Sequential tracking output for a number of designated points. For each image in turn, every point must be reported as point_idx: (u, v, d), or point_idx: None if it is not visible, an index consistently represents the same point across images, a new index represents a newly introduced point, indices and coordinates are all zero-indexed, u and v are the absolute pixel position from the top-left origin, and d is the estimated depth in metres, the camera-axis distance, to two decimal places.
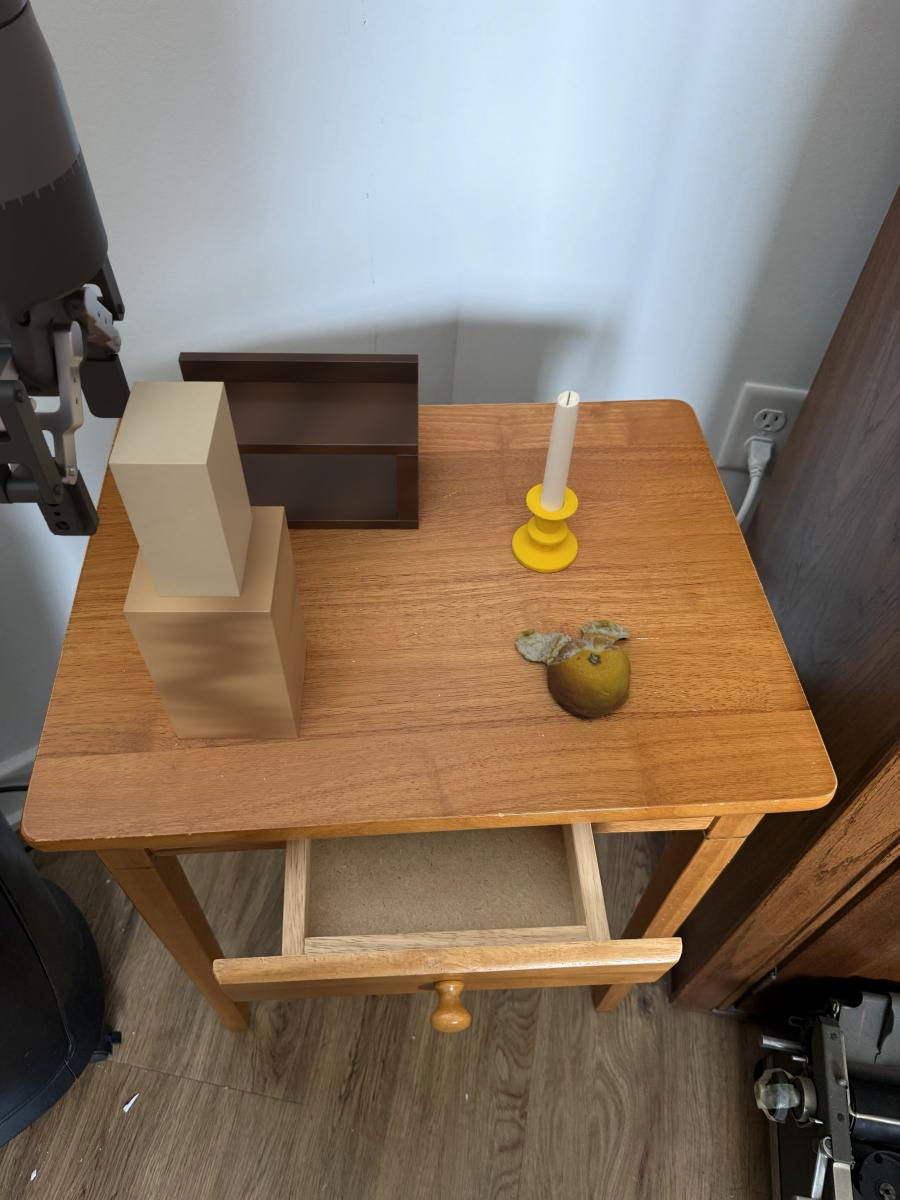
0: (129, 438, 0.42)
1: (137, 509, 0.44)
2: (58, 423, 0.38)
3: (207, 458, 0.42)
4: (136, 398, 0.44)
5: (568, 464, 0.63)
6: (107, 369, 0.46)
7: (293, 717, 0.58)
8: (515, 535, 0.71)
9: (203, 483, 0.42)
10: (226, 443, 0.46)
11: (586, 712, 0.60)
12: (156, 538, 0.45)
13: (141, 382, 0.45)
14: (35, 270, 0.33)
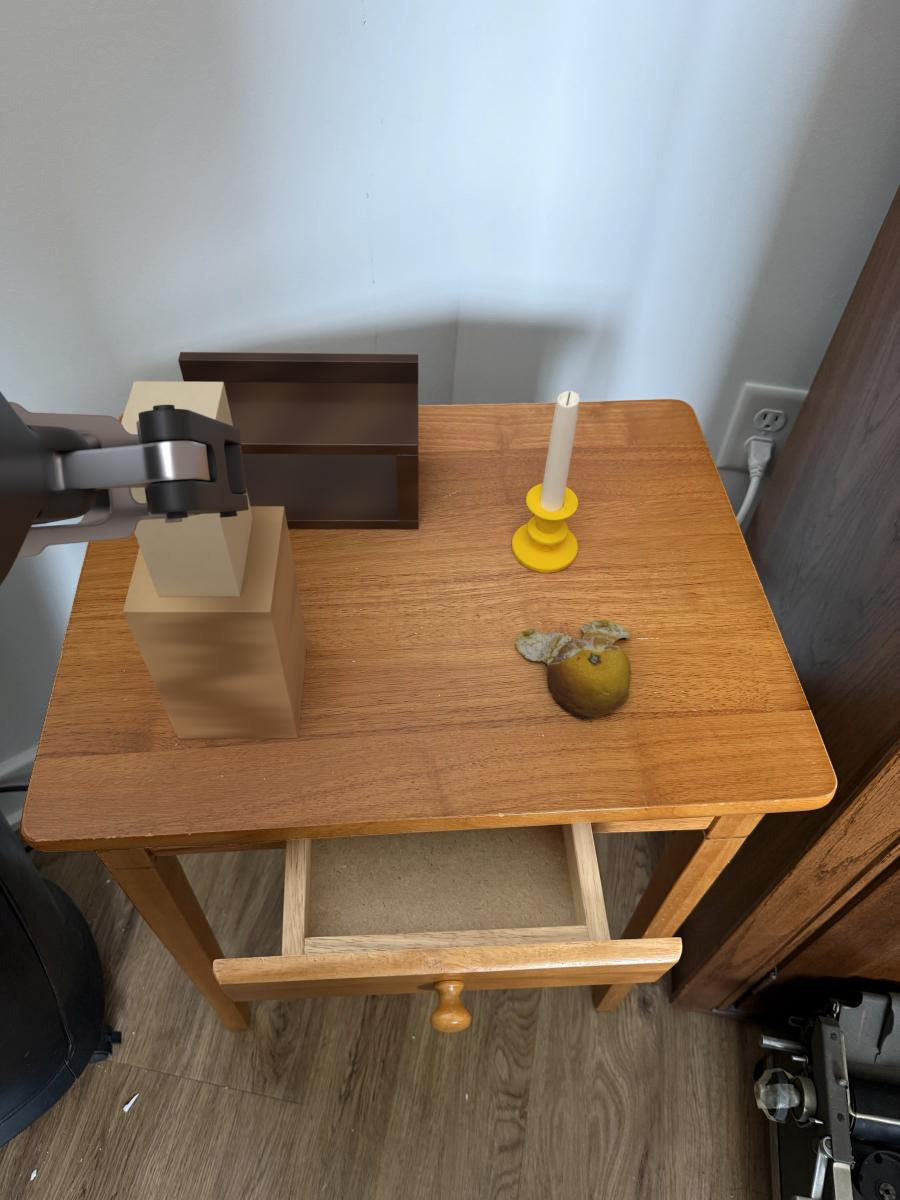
0: None
1: None
2: None
3: None
4: (136, 398, 0.44)
5: (568, 464, 0.63)
6: None
7: (293, 717, 0.58)
8: (515, 535, 0.71)
9: None
10: None
11: (586, 712, 0.60)
12: (156, 538, 0.45)
13: (141, 382, 0.45)
14: None
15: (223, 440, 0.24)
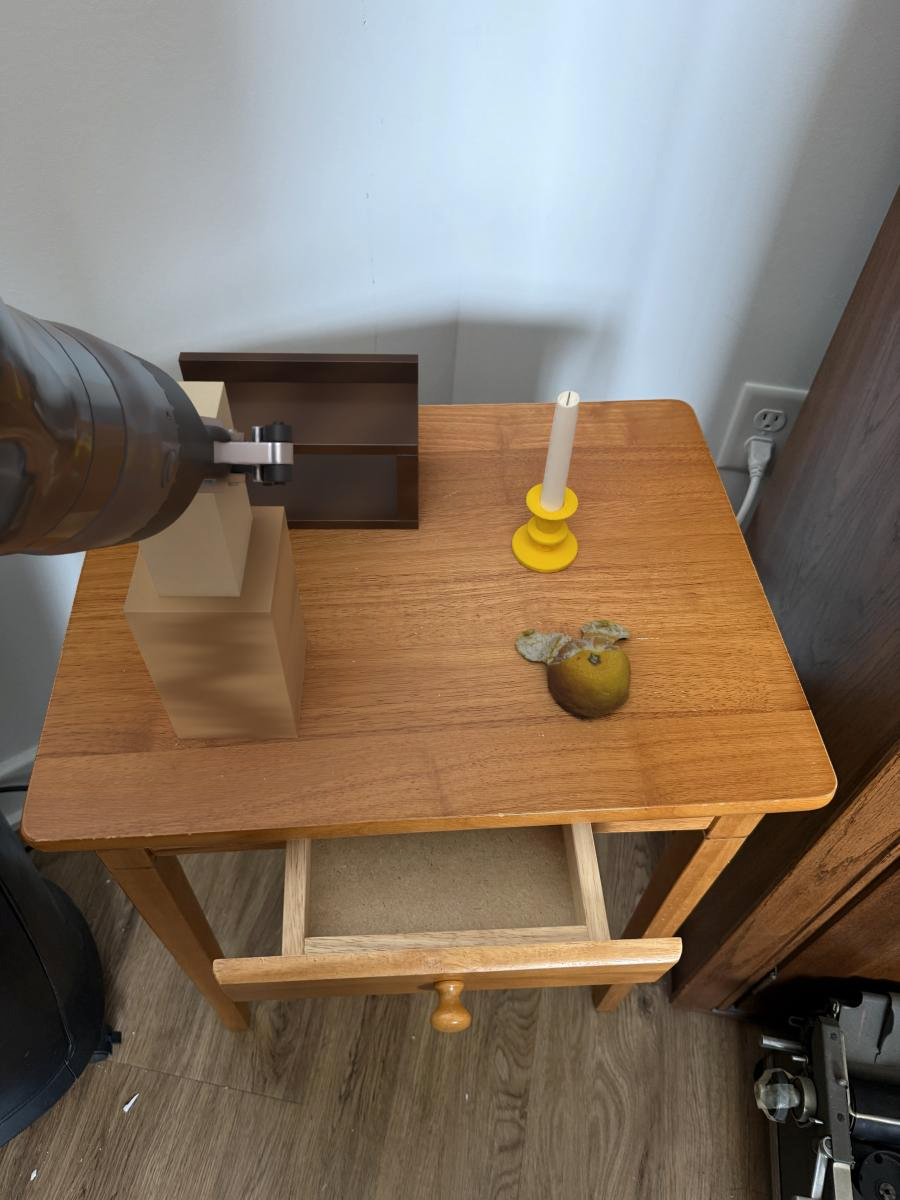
0: None
1: None
2: None
3: None
4: None
5: (568, 464, 0.63)
6: None
7: (293, 717, 0.58)
8: (515, 535, 0.71)
9: None
10: None
11: (586, 712, 0.60)
12: (157, 537, 0.45)
13: None
14: None
15: None
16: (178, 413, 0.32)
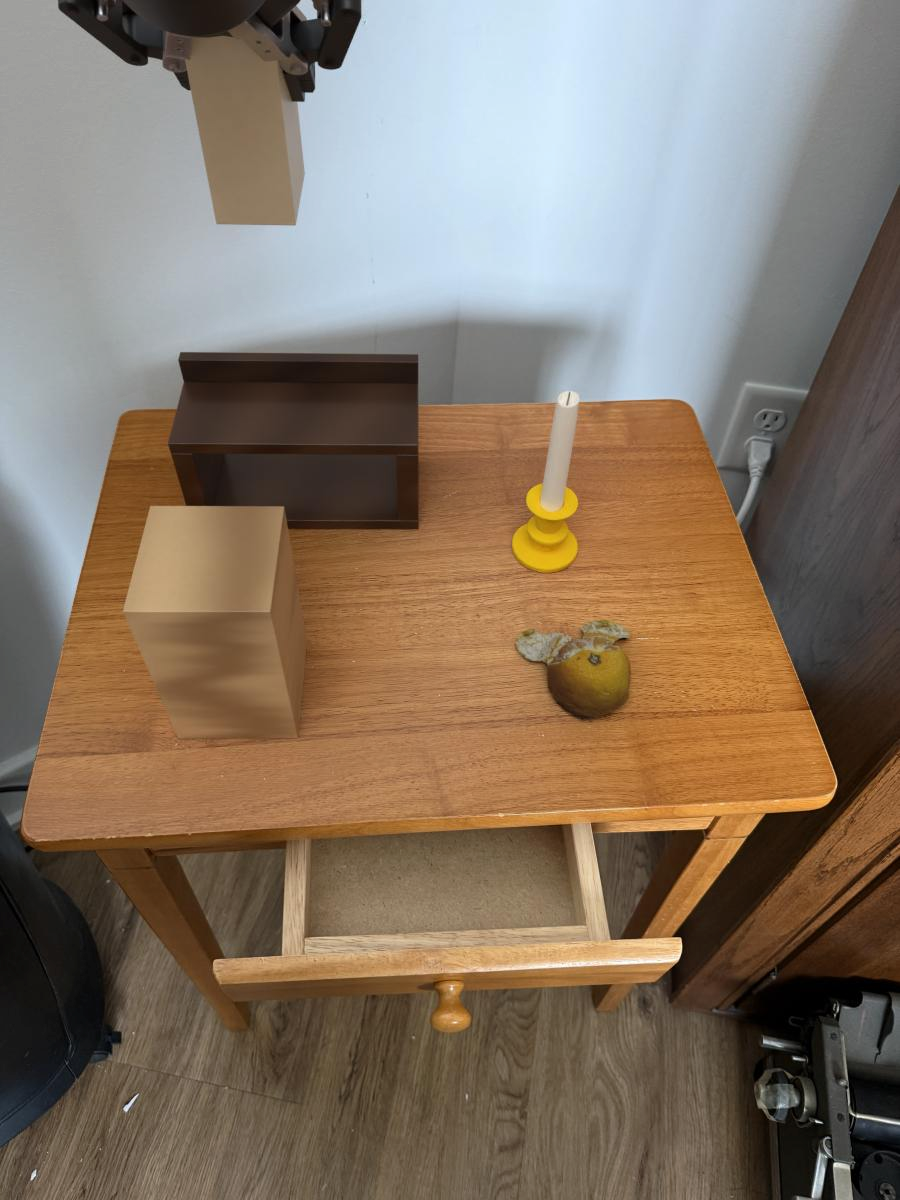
0: None
1: (203, 94, 0.45)
2: (163, 41, 0.43)
3: None
4: None
5: (568, 464, 0.63)
6: None
7: (293, 717, 0.58)
8: (515, 535, 0.71)
9: None
10: None
11: (586, 712, 0.60)
12: (219, 137, 0.47)
13: None
14: None
15: None
16: None
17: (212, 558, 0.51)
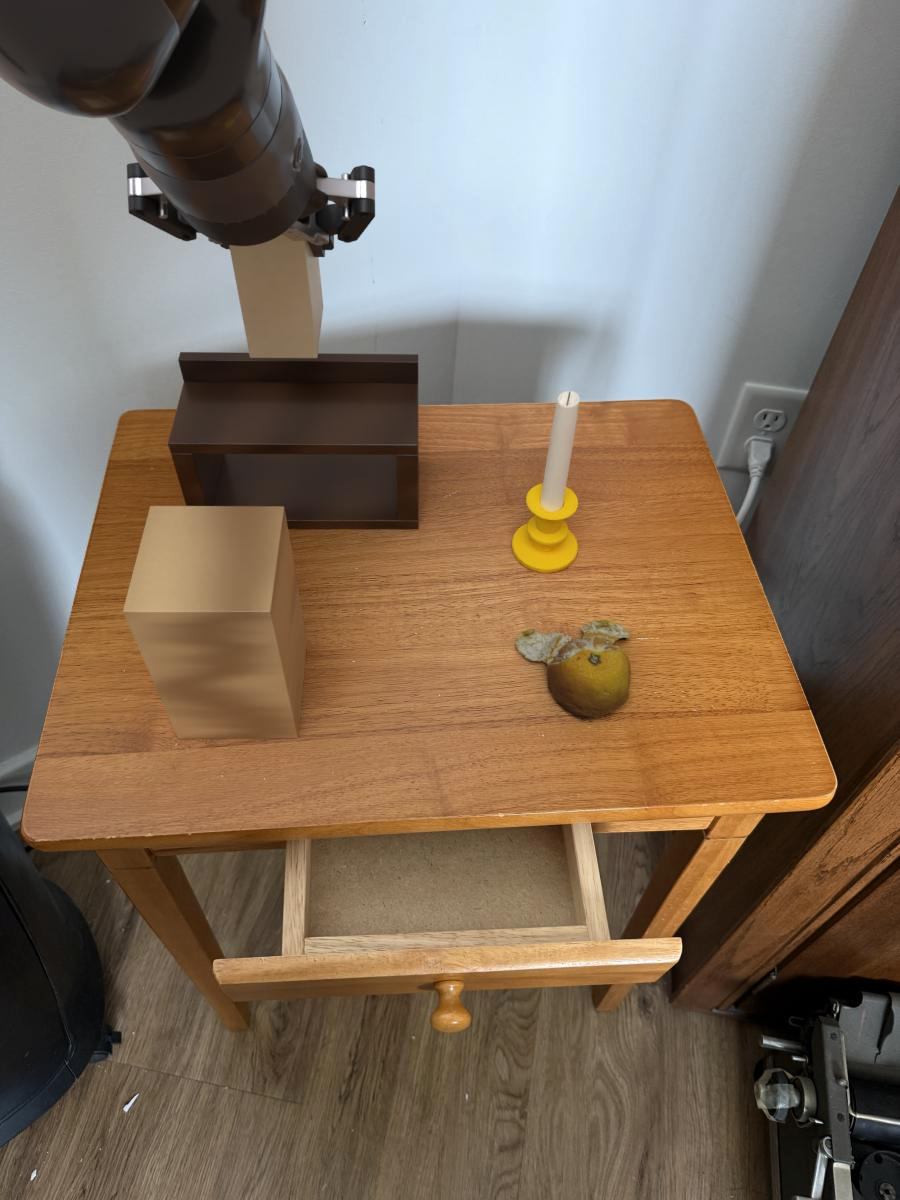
0: None
1: (241, 262, 0.54)
2: None
3: None
4: None
5: (568, 464, 0.63)
6: None
7: (293, 717, 0.58)
8: (515, 535, 0.71)
9: None
10: None
11: (586, 712, 0.60)
12: (254, 293, 0.56)
13: None
14: None
15: None
16: None
17: (212, 558, 0.51)
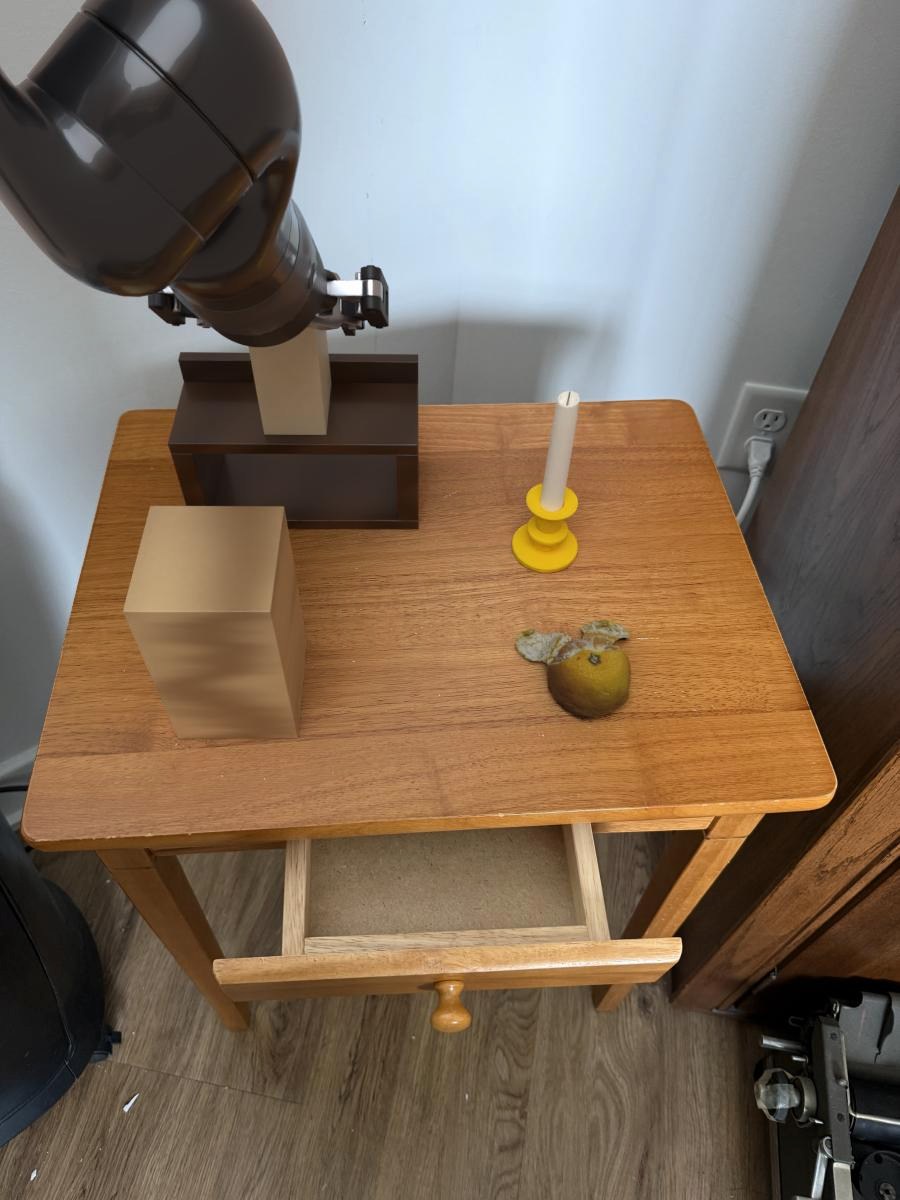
0: None
1: (258, 355, 0.59)
2: None
3: None
4: None
5: (568, 464, 0.63)
6: None
7: (293, 717, 0.58)
8: (515, 535, 0.71)
9: (309, 332, 0.58)
10: None
11: (586, 712, 0.60)
12: (270, 381, 0.61)
13: None
14: None
15: (385, 288, 0.55)
16: (314, 243, 0.47)
17: (212, 558, 0.51)
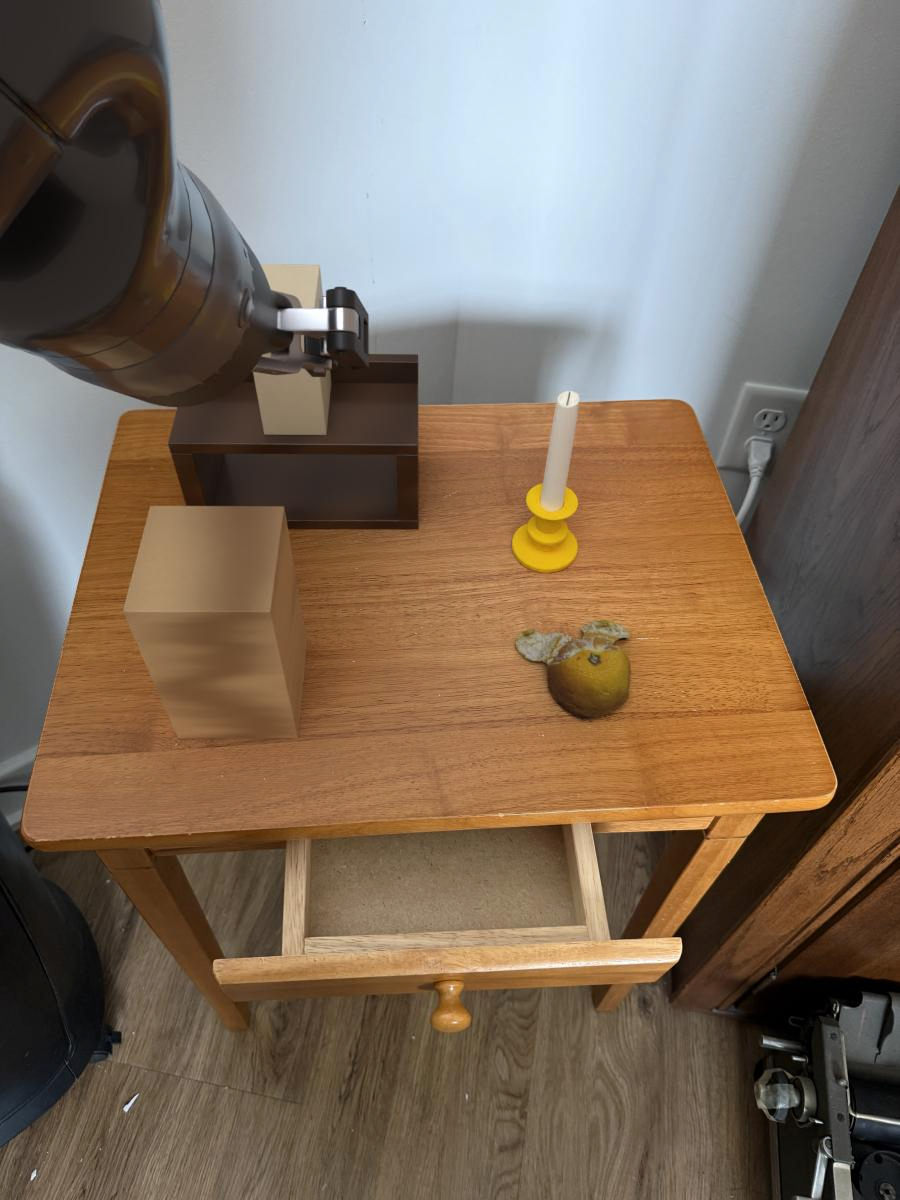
0: None
1: None
2: None
3: None
4: None
5: (568, 464, 0.63)
6: None
7: (293, 717, 0.58)
8: (515, 535, 0.71)
9: None
10: None
11: (586, 712, 0.60)
12: (270, 381, 0.61)
13: None
14: None
15: (363, 317, 0.40)
16: (251, 258, 0.31)
17: (212, 558, 0.51)
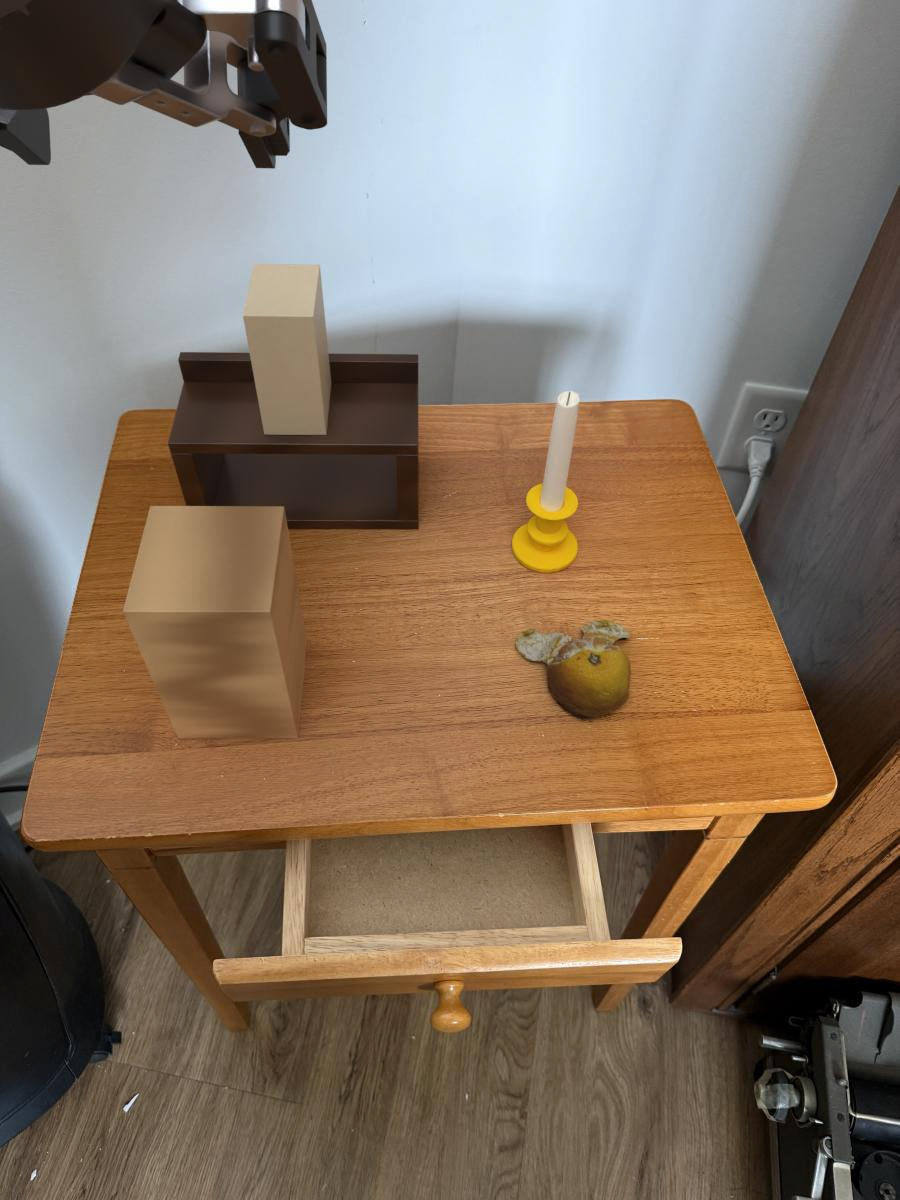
0: (255, 300, 0.58)
1: (258, 355, 0.59)
2: None
3: (314, 313, 0.57)
4: (257, 274, 0.60)
5: (568, 464, 0.63)
6: None
7: (293, 717, 0.58)
8: (515, 535, 0.71)
9: (309, 332, 0.58)
10: (320, 311, 0.61)
11: (586, 712, 0.60)
12: (270, 381, 0.61)
13: (259, 264, 0.60)
14: None
15: (316, 30, 0.27)
16: None
17: (212, 558, 0.51)
